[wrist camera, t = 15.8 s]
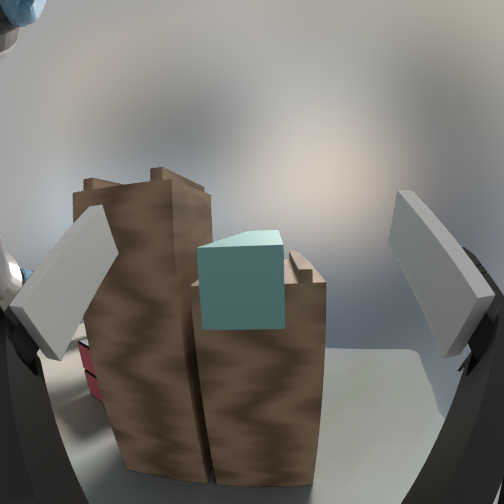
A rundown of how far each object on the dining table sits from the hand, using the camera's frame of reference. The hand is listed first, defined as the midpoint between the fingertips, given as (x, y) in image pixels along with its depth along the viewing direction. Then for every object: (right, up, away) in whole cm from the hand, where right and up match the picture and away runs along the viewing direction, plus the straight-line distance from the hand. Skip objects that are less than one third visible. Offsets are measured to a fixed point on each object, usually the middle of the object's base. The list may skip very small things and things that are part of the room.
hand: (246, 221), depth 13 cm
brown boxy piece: (-3, -25, +18) cm, 31 cm away
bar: (+1, -3, +11) cm, 12 cm away
